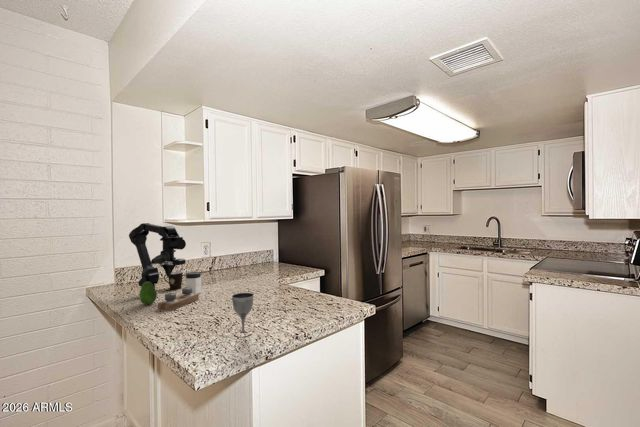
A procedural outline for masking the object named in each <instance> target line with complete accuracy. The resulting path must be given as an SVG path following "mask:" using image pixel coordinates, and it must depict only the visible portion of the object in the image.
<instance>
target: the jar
mask: <svg viewBox="0 0 640 427" xmlns="http://www.w3.org/2000/svg"><path fill="white" fill-rule="evenodd" d="M201 273H202V272H200V271H189V272H185V278H184V281H185V283H184V284H185V287H184V288H192V294H198V295H199V294H202V276H201V275H202V274H201Z"/></svg>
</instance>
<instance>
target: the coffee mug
mask: <svg viewBox="0 0 640 427" xmlns="http://www.w3.org/2000/svg"><path fill="white" fill-rule="evenodd" d="M183 274H184V271H172V273H171V275H170V277H167V275H166V274H164V276H163V280H164V281H165V282H166V283H168V286H169V290H170V291H176V290H180V289H181V290H182V286H183V285H182V282H183V276H184V275H183ZM165 277H167V278H168V280H166V278H165Z"/></svg>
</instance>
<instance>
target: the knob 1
mask: <svg viewBox="0 0 640 427" xmlns="http://www.w3.org/2000/svg"><path fill="white" fill-rule="evenodd" d="M176 297H177V293H175V292H170V293H169V292H168V293H166V294H164V301H165V300H166V301H172V300H175V299H176Z"/></svg>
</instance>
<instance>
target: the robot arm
mask: <svg viewBox="0 0 640 427" xmlns="http://www.w3.org/2000/svg"><path fill="white" fill-rule="evenodd" d="M150 232H151V233H154V234H155V233H156V234H158V235H159V236H160V237H161V238H160V239H159V241H161V242H162V250H161V251H160V254H158V255H157V256H154V257H153V258H151V257H150V254H149V251H148V247H147V244H146V242H147V238H148V237H147V236H148V235H149V233H150ZM128 238H129V240H130V243H132V244H133V245H134V246H135V247H136V250H137V254H138V257H139V260H140V264H141V266H142V272H141V278H140V279H139V281H138V283H137V284H138V286H139V287H142V284H143V283H144V282H147V281H149V282H151V283H152V284H153V286H154V287H155V288H156V284H158V283H159V280H160V272H159V270H158V267H154V266H153V265H159V266H160V267H162V269H163V270H164V273H165V275H166V277H167V278H168V277H170V275H171V273H172V272H174V268H175V267H176V266H181V265H186V259H185V258H177V257H176V256H175V253H176V251H177V250H184V249H185V248H186V247H187V246H186V245H187V243H186V241H185V239H184V237H183V236H180V234H179V233H178V231H177V229H176V227H175V226H173V225H171V226H166V225H165V226H162V225H158V224H157V225H156V224H151V223H148V222H147V223H140V224H139V225H138V226H137V227H135V228H133V229H132V230H131V231H130V232H129V234H128Z"/></svg>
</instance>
